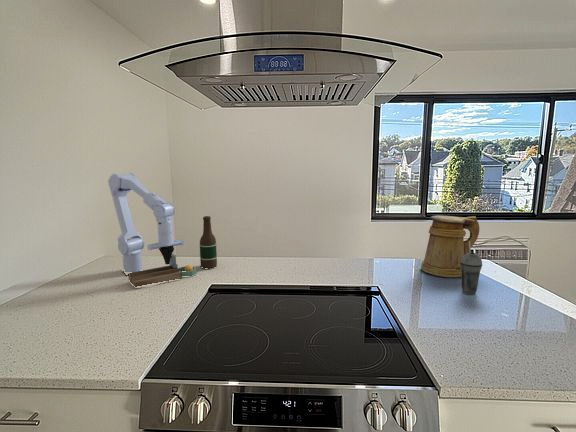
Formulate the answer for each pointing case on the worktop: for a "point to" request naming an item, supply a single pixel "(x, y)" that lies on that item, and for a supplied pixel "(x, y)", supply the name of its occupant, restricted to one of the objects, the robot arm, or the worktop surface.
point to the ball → (188, 268)
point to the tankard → (448, 244)
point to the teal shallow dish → (188, 273)
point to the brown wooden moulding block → (154, 275)
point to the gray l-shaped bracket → (173, 262)
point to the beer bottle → (208, 245)
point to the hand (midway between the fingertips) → (167, 263)
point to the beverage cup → (470, 272)
